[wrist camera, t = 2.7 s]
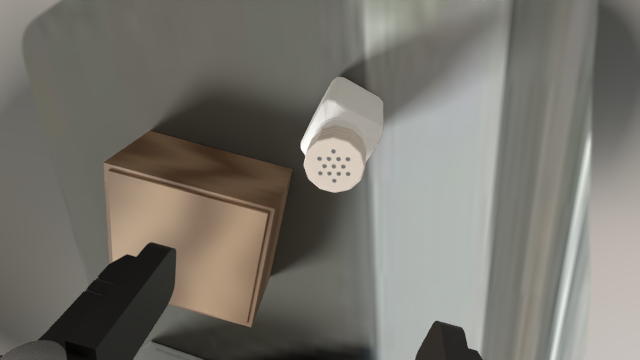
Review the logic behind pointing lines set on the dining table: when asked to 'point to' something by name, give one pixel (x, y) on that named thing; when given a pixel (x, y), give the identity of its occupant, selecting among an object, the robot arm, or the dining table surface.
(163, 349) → the tea box
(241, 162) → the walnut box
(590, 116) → the dining table surface
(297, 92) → the dining table surface
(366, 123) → the salt shaker
